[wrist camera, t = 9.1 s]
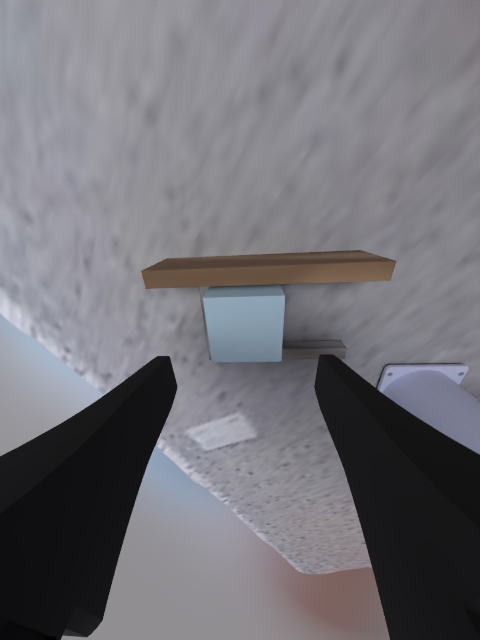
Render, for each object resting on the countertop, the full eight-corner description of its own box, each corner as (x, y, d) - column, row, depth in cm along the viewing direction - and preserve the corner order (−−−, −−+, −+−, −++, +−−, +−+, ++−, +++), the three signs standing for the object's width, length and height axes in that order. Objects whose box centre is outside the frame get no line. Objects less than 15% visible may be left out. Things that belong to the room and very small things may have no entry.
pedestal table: (338, 349, 21) (359, 381, 17) (186, 352, 22) (171, 382, 18) (359, 250, 16) (396, 260, 12) (166, 258, 17) (141, 271, 13)
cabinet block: (272, 329, 20) (280, 370, 15) (222, 330, 20) (213, 370, 15) (274, 271, 17) (285, 295, 12) (217, 273, 18) (202, 298, 12)
